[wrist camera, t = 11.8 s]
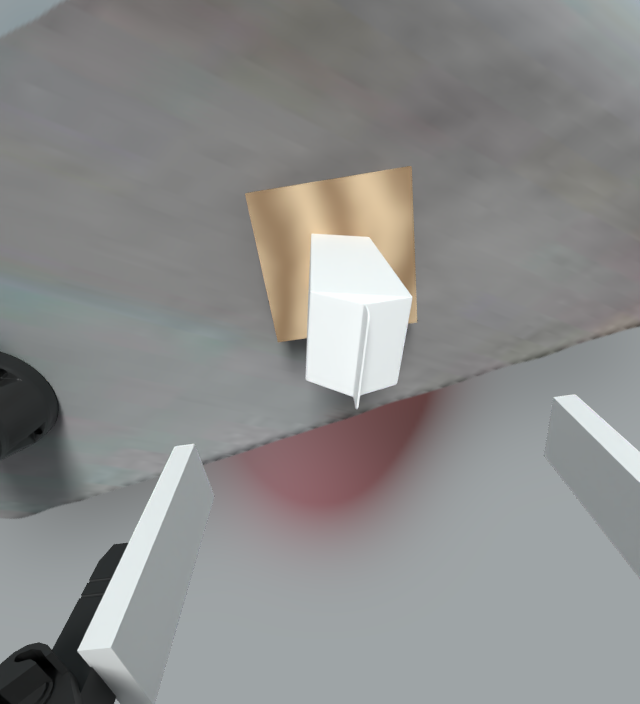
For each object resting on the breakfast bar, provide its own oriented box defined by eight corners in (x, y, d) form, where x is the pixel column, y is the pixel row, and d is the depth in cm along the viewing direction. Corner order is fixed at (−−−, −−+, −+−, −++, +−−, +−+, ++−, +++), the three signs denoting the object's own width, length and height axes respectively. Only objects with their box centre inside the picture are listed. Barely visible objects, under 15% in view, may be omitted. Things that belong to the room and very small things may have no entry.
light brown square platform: (281, 322, 49) (277, 342, 44) (253, 189, 42) (245, 193, 37) (405, 304, 48) (417, 322, 43) (398, 165, 41) (411, 166, 36)
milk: (308, 289, 41) (301, 411, 22) (311, 231, 38) (306, 310, 19) (364, 292, 41) (408, 416, 22) (371, 235, 39) (428, 317, 19)
